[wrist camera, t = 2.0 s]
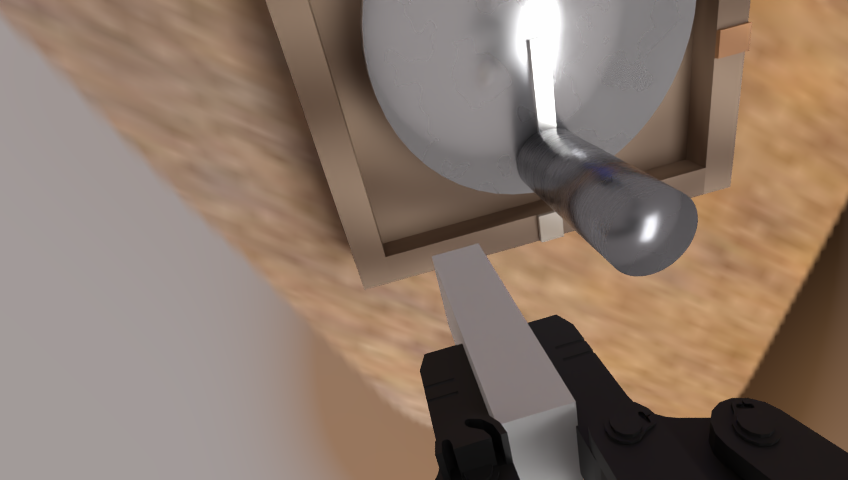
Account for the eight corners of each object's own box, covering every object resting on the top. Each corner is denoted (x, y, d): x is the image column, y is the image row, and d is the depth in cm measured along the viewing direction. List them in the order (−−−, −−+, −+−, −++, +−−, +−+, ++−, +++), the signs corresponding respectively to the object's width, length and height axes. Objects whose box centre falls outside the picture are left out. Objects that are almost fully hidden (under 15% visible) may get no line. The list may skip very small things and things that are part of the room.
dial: (313, -128, 17) (289, -275, 8) (672, -213, 18) (1013, -435, 9) (403, 211, 23) (444, 334, 15) (662, 140, 24) (849, 217, 15)
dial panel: (210, -195, 17) (181, -242, 14) (713, -309, 18) (797, -379, 15) (361, 257, 27) (364, 292, 23) (686, 166, 28) (733, 188, 24)
